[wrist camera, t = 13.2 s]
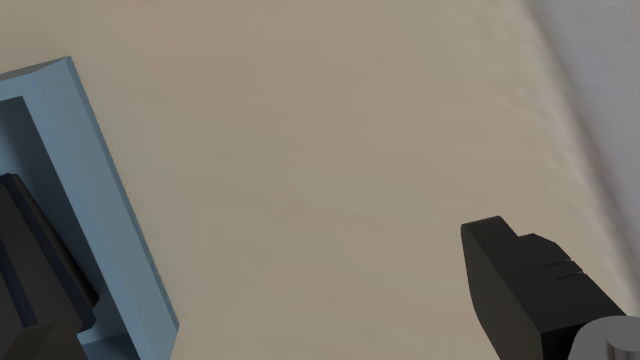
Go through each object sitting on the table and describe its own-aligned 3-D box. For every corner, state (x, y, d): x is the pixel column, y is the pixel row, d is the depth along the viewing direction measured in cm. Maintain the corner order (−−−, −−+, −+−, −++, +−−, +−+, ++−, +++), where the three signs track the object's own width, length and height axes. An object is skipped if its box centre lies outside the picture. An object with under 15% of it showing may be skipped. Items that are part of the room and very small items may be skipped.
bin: (-140, 111, 36) (-216, 138, 31) (70, 55, 36) (31, 72, 30) (4, 368, 44) (-36, 427, 38) (179, 324, 44) (164, 377, 38)
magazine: (76, 362, 41) (-97, 451, 26) (16, 193, 42) (-183, 185, 27) (123, 344, 41) (-26, 423, 26) (61, 173, 42) (-115, 155, 27)
